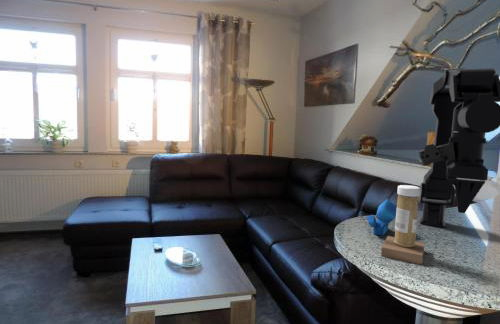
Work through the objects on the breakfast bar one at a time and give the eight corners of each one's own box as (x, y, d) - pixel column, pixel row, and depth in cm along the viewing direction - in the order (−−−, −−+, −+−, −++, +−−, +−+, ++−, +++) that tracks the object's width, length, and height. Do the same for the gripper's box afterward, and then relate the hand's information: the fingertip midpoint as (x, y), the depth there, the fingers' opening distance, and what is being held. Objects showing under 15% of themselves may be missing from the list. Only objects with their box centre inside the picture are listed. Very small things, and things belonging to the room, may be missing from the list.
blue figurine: (363, 210, 85) (373, 192, 94) (362, 239, 88) (373, 219, 97) (394, 215, 81) (401, 196, 90) (392, 246, 84) (400, 224, 93)
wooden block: (387, 243, 80) (387, 235, 80) (424, 250, 76) (424, 242, 76) (381, 256, 73) (381, 247, 73) (421, 264, 69) (422, 255, 68)
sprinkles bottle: (419, 247, 73) (425, 188, 71) (400, 248, 72) (405, 188, 71) (407, 240, 77) (412, 184, 76) (389, 241, 77) (393, 184, 75)
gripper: (425, 130, 78) (419, 194, 80) (420, 131, 62) (413, 211, 64) (482, 132, 73) (474, 201, 75) (492, 133, 57) (483, 221, 59)
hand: (460, 207), depth 68 cm, fingers open, 9 cm apart
